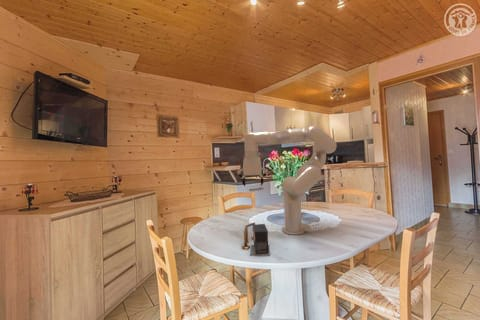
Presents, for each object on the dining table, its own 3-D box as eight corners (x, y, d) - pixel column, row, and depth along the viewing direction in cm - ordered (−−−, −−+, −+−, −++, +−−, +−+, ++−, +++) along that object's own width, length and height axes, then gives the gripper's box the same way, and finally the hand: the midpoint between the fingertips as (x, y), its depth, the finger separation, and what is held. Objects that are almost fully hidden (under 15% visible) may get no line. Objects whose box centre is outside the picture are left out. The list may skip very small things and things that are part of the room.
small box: (252, 245, 113) (251, 224, 113) (265, 244, 113) (264, 223, 113) (255, 254, 103) (253, 231, 102) (269, 253, 103) (268, 230, 103)
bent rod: (259, 237, 124) (258, 221, 124) (248, 250, 109) (247, 231, 109) (251, 236, 126) (250, 220, 126) (238, 248, 111) (238, 230, 111)
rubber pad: (269, 245, 113) (269, 244, 113) (270, 255, 102) (270, 254, 102) (251, 245, 114) (251, 244, 114) (250, 255, 103) (250, 254, 103)
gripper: (267, 154, 130) (268, 183, 130) (237, 155, 132) (238, 184, 132) (267, 154, 122) (268, 185, 123) (235, 155, 124) (237, 186, 125)
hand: (253, 185), depth 127 cm, fingers open, 9 cm apart
